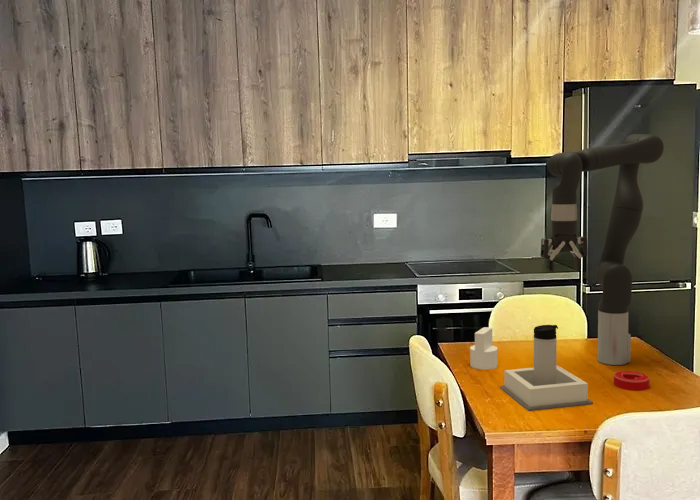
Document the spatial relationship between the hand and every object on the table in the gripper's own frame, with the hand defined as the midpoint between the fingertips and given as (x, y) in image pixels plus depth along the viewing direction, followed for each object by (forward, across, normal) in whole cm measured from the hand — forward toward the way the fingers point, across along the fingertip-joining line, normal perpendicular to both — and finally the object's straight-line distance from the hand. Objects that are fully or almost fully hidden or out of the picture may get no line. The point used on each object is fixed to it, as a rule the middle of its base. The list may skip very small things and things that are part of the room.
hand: (563, 271), depth 193 cm
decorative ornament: (+34, +14, -14) cm, 39 cm away
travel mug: (+33, -14, -15) cm, 39 cm away
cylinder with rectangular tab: (+33, -20, +16) cm, 42 cm away
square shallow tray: (+33, -14, -15) cm, 39 cm away
